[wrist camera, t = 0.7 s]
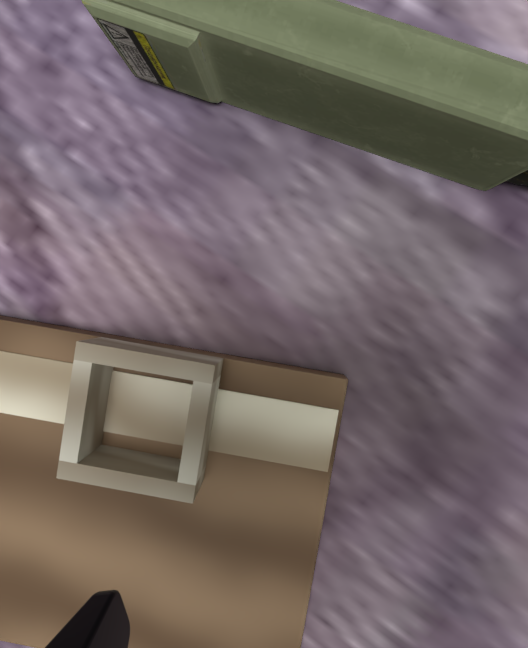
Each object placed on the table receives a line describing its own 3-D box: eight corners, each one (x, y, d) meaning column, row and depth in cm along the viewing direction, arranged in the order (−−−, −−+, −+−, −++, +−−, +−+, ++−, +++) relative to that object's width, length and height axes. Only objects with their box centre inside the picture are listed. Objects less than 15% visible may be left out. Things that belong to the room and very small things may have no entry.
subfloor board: (290, 672, 22) (292, 753, 18) (-126, 589, 23) (-212, 648, 19) (343, 374, 21) (357, 390, 17) (-89, 299, 22) (-170, 298, 18)
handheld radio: (145, 16, 21) (619, 176, 21) (125, 80, 22) (592, 241, 21) (80, -107, 15) (776, 123, 14) (53, -12, 15) (732, 218, 14)
